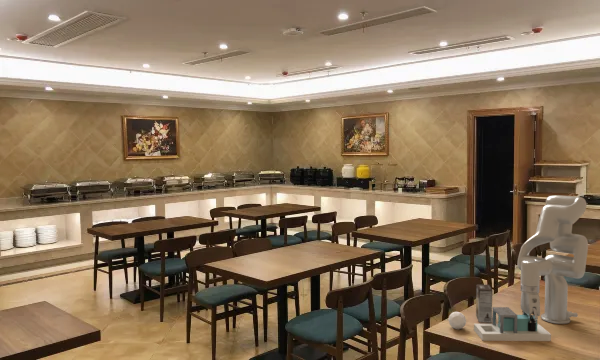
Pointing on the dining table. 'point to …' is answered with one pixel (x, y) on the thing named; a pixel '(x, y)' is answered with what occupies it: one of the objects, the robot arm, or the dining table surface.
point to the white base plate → (510, 334)
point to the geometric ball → (457, 320)
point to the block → (521, 323)
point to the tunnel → (503, 313)
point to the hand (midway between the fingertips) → (529, 328)
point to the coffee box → (484, 303)
